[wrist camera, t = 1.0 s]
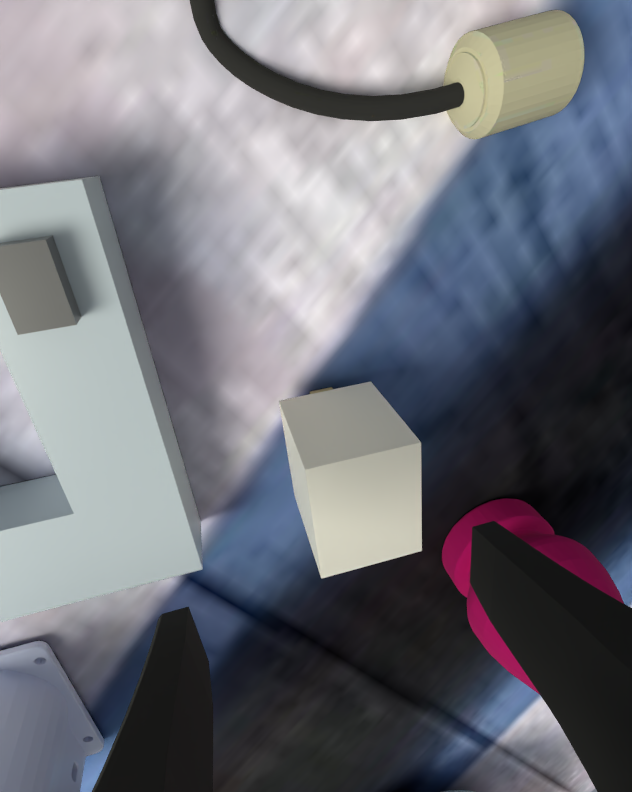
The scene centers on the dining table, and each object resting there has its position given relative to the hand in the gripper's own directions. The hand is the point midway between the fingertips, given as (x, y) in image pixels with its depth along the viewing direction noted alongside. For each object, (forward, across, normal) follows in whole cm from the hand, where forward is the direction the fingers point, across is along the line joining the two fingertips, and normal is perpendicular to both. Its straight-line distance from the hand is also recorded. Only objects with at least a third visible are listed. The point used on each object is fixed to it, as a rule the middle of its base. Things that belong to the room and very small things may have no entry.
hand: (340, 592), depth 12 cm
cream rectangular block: (+10, -2, +2) cm, 11 cm away
